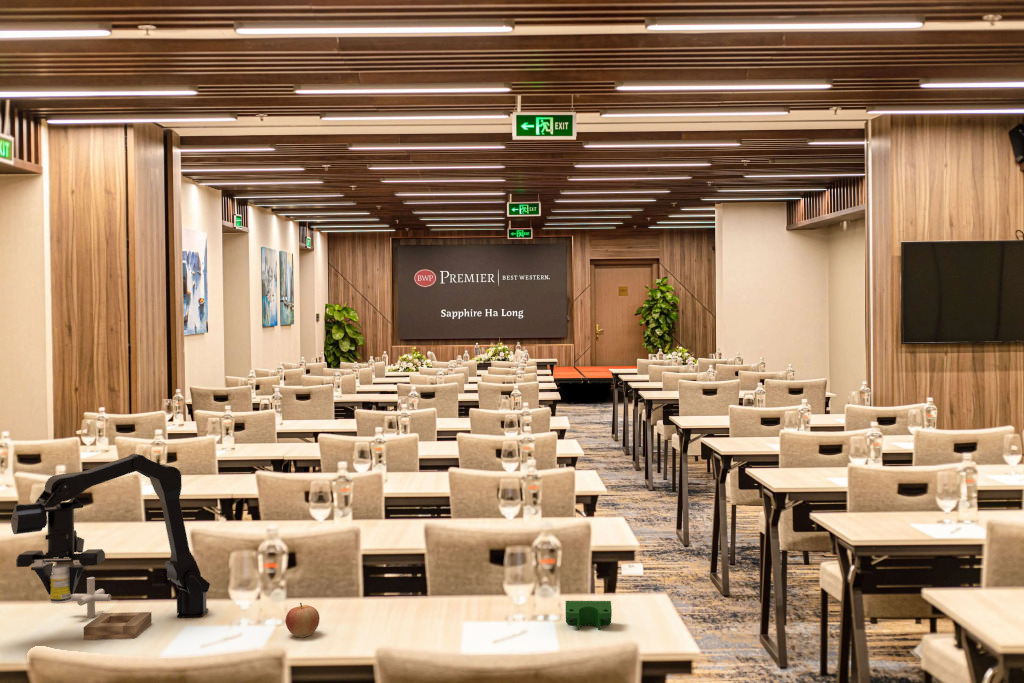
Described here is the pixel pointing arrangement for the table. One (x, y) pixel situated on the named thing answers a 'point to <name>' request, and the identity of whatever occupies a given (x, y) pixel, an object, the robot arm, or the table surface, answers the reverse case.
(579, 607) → the clamp
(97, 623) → the holder
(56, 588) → the supplement bottle
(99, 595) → the pipe connector
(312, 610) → the apple
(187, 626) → the table surface
